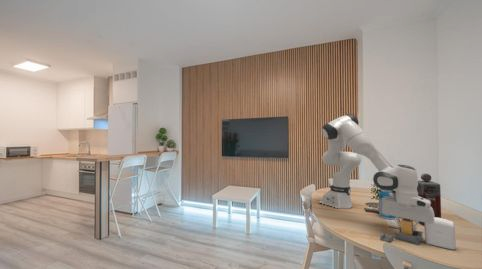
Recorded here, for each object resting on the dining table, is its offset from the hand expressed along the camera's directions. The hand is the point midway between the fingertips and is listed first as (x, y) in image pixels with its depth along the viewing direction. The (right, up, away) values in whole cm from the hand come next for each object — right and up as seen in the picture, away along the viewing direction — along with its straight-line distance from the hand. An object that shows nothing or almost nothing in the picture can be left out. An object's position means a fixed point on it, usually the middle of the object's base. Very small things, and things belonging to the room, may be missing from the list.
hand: (407, 227), depth 107 cm
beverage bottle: (+9, -6, +28) cm, 30 cm away
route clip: (-11, -5, -2) cm, 12 cm away
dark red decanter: (+25, -6, +17) cm, 31 cm away
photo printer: (+9, -5, -8) cm, 13 cm away
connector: (0, -3, 0) cm, 3 cm away
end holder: (0, -5, -1) cm, 5 cm away
